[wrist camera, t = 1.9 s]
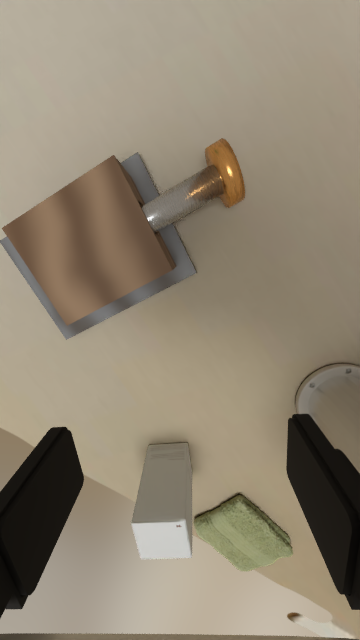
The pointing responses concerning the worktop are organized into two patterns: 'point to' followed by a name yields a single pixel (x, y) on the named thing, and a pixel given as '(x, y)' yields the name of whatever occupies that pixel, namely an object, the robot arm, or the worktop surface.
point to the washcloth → (243, 534)
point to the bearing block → (96, 247)
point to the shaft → (200, 188)
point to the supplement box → (164, 503)
